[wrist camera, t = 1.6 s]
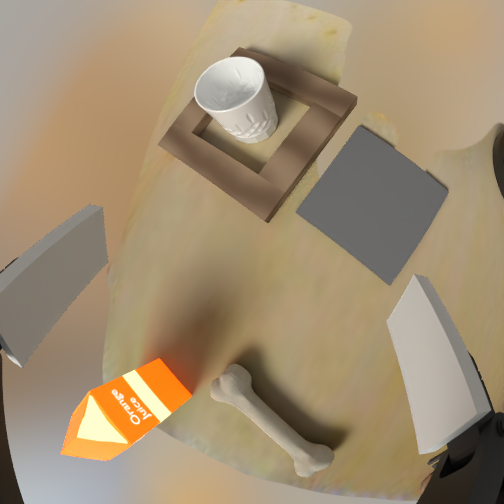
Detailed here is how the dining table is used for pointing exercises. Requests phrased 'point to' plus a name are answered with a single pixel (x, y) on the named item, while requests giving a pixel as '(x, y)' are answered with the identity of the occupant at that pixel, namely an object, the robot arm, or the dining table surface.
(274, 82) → the puzzle board
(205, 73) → the white cup
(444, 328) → the robot arm
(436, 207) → the rubber mat
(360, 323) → the dining table surface
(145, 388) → the orange juice
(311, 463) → the dog toy
